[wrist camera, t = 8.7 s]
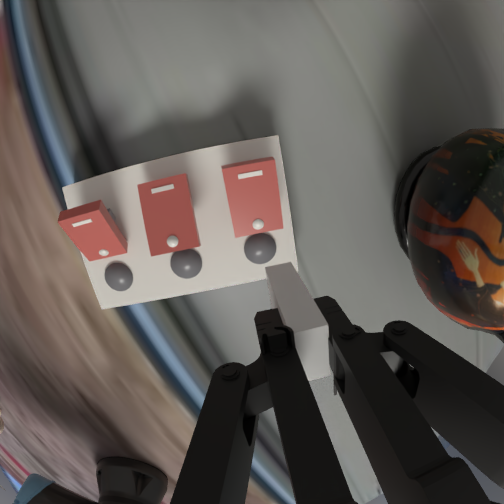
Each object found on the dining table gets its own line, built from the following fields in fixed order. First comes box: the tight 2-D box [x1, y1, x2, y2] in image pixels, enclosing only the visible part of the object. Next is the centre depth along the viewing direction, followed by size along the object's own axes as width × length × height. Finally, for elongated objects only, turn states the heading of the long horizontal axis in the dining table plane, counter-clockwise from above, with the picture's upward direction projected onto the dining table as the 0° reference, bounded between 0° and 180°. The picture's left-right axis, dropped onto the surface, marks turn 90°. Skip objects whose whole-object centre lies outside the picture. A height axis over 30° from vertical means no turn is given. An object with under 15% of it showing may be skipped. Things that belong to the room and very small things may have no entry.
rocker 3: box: [221, 157, 283, 238], centre depth 27 cm, size 4×6×3 cm
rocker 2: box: [137, 173, 201, 257], centre depth 27 cm, size 4×6×3 cm
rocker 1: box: [58, 200, 128, 262], centre depth 27 cm, size 4×6×3 cm
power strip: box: [62, 135, 298, 309], centre depth 31 cm, size 22×14×3 cm, turn 100°
